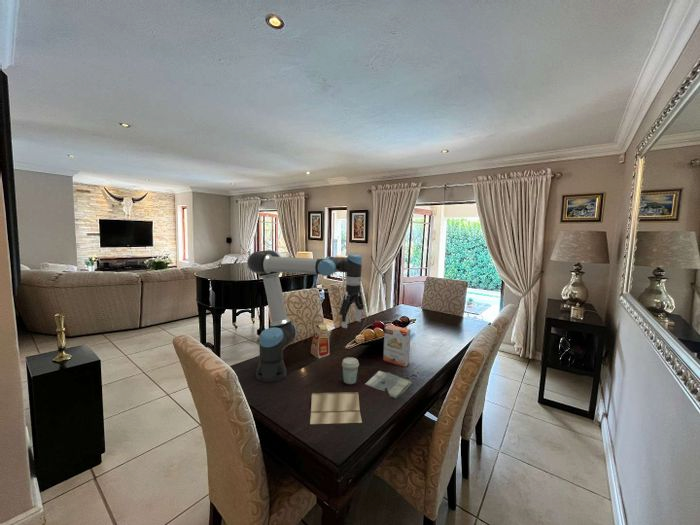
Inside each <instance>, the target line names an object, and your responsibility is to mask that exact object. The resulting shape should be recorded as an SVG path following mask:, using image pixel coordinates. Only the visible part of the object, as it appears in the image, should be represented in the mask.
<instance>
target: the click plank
mask: <svg viewBox="0 0 700 525" xmlns="http://www.w3.org/2000/svg"><path fill="white" fill-rule="evenodd" d="M310 406H311V407H310V413H311V412H326V411H361V410H360V398H359V392H358V391H356V392H354V391H353V392H350V391H349V392H312V393H311V405H310Z"/></svg>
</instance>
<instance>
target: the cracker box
mask: <svg viewBox="0 0 700 525" xmlns="http://www.w3.org/2000/svg"><path fill="white" fill-rule="evenodd" d="M383 338H384V339H383V355H382V356H383V359H382V360H383V361H384V362H387V363H389V364H390V363H391V364H394V365H397V366H400V367H404V368H406V367H407V366H408V365H409V364H410V363H409V362H410V347H411V329H410V328H404V327H401V326H397V325H392V324H388V325H385V326H384V337H383Z"/></svg>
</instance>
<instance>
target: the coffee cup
mask: <svg viewBox="0 0 700 525" xmlns="http://www.w3.org/2000/svg"><path fill="white" fill-rule="evenodd" d="M359 366H360V363H359V360H358V359H357V358H356V357H352V356H351V357H345V358H343V359H342V362H341V367H342V379H343V383H345V384H346V385H353V384H356V383H357V377H358V369H359Z"/></svg>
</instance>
